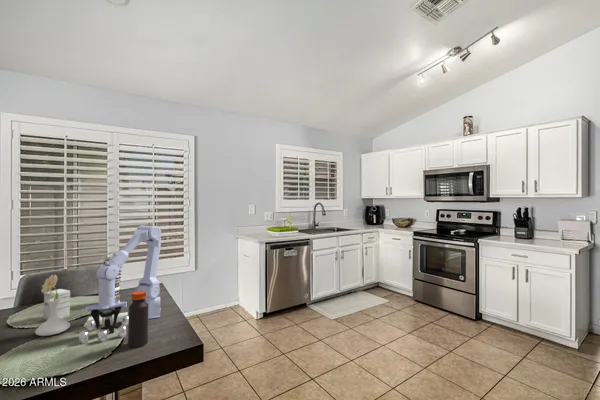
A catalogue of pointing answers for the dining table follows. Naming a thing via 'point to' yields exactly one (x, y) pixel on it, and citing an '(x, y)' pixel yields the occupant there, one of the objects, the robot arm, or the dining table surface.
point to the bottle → (138, 320)
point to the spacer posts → (103, 333)
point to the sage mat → (119, 318)
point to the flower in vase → (52, 311)
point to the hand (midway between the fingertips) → (106, 326)
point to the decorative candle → (116, 283)
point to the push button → (107, 320)
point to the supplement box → (63, 305)
